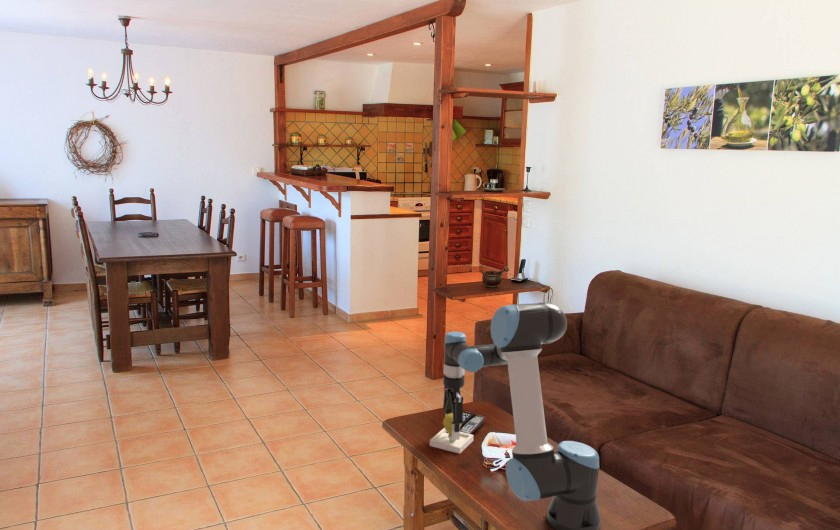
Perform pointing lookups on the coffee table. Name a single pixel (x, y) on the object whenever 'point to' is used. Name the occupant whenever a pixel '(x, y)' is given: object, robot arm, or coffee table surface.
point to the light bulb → (449, 425)
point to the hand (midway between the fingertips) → (452, 434)
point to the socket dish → (444, 443)
